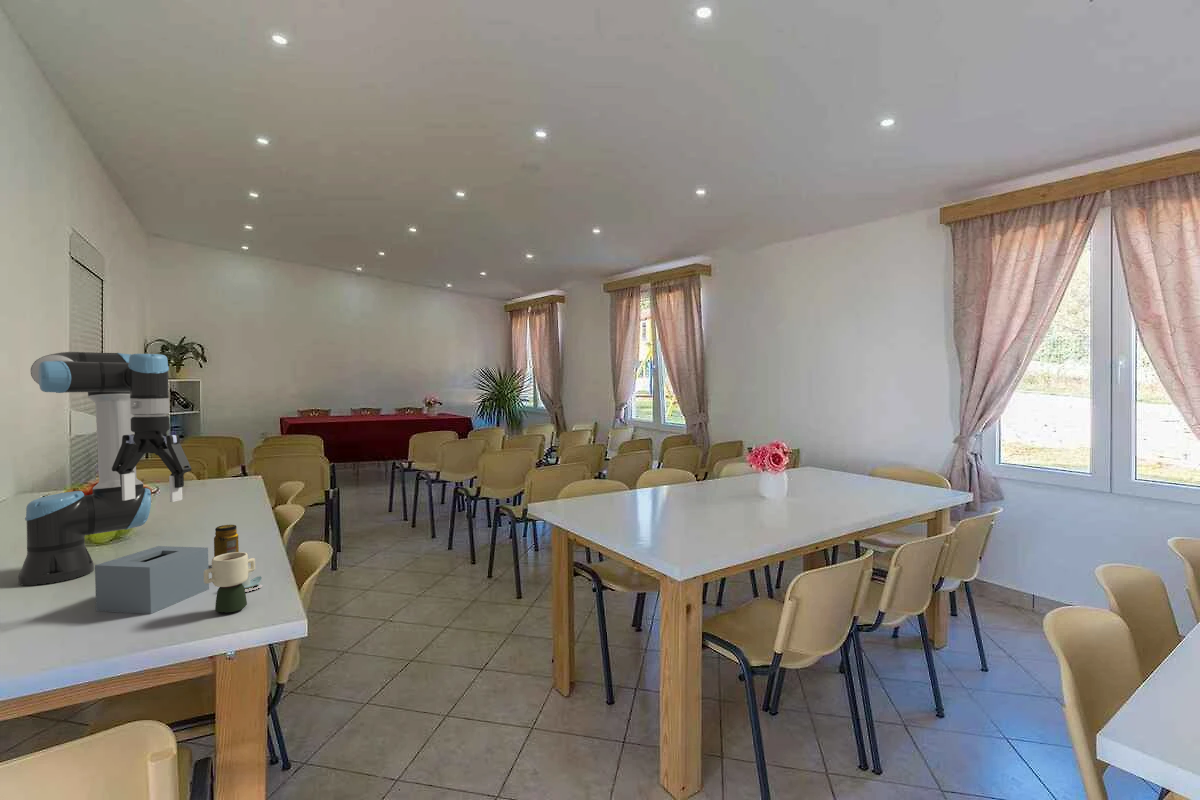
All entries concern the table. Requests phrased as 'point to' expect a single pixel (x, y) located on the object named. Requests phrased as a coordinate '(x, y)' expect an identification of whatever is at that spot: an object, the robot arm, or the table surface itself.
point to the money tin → (150, 579)
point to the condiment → (225, 540)
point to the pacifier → (250, 583)
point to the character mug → (230, 580)
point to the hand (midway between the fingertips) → (152, 500)
